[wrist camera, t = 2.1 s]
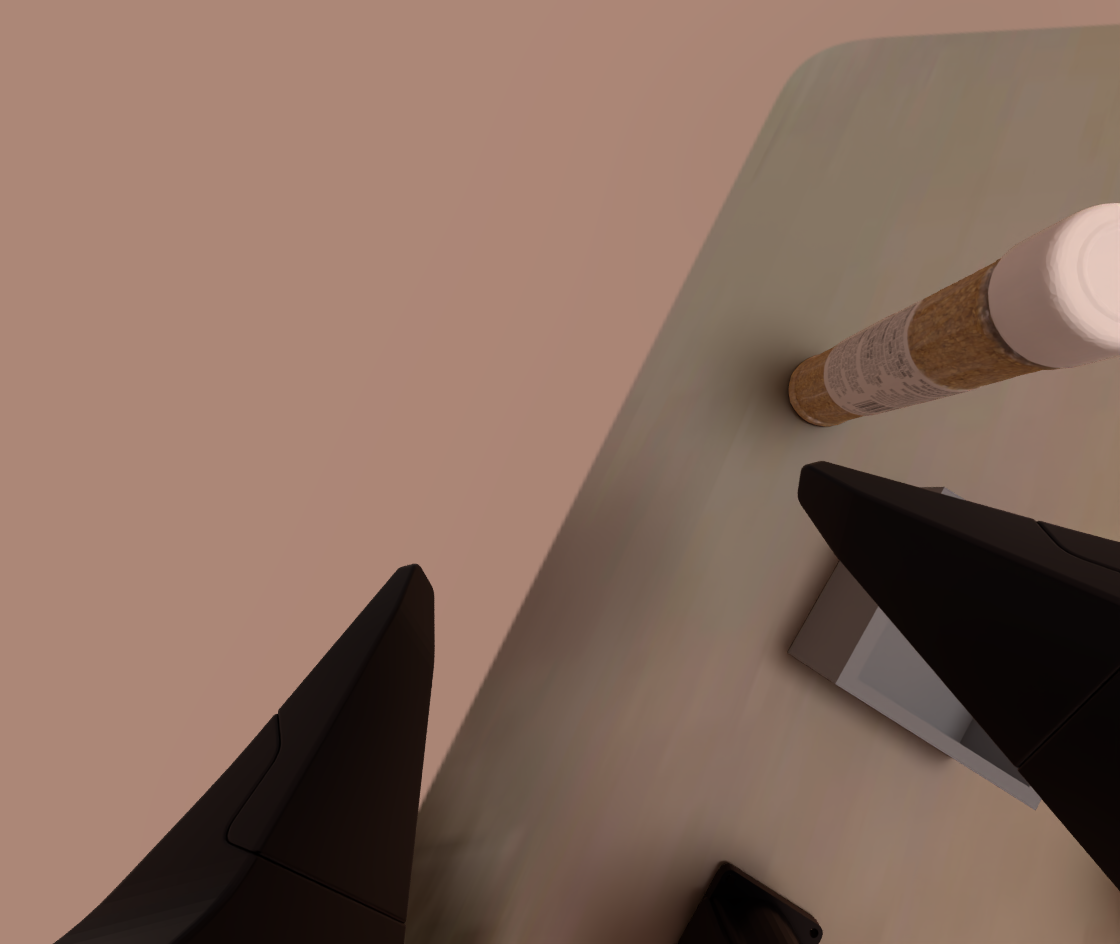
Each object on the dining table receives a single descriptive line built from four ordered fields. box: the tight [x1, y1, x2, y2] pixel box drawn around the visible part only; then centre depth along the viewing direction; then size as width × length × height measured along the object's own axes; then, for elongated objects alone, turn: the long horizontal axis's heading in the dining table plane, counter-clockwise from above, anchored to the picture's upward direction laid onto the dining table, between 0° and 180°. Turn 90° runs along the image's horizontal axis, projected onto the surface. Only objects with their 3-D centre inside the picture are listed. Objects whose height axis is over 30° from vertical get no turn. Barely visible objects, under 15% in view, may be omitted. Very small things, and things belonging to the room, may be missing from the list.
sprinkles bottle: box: [789, 203, 1120, 426], centre depth 18 cm, size 5×5×14 cm
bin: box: [788, 487, 1041, 810], centre depth 22 cm, size 12×12×4 cm
